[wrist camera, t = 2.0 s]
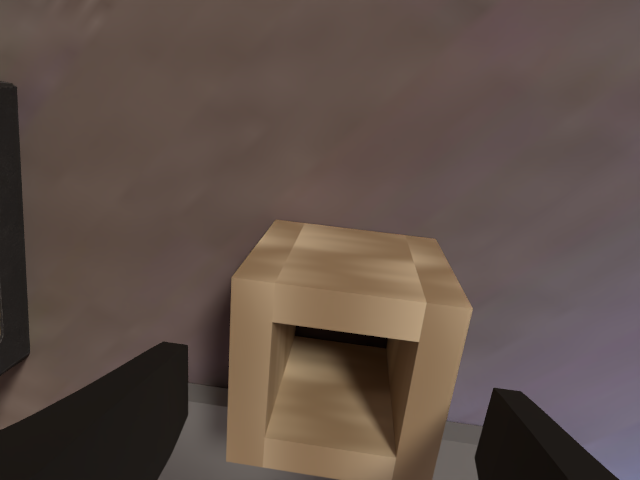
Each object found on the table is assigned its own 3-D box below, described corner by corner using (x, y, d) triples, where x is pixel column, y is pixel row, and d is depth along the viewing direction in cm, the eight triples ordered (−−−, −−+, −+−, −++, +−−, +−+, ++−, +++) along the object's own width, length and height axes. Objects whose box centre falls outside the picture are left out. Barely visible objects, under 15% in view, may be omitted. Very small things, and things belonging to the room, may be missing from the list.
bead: (435, 238, 14) (472, 309, 9) (409, 375, 16) (428, 494, 11) (275, 219, 14) (231, 277, 9) (267, 355, 16) (226, 461, 11)
